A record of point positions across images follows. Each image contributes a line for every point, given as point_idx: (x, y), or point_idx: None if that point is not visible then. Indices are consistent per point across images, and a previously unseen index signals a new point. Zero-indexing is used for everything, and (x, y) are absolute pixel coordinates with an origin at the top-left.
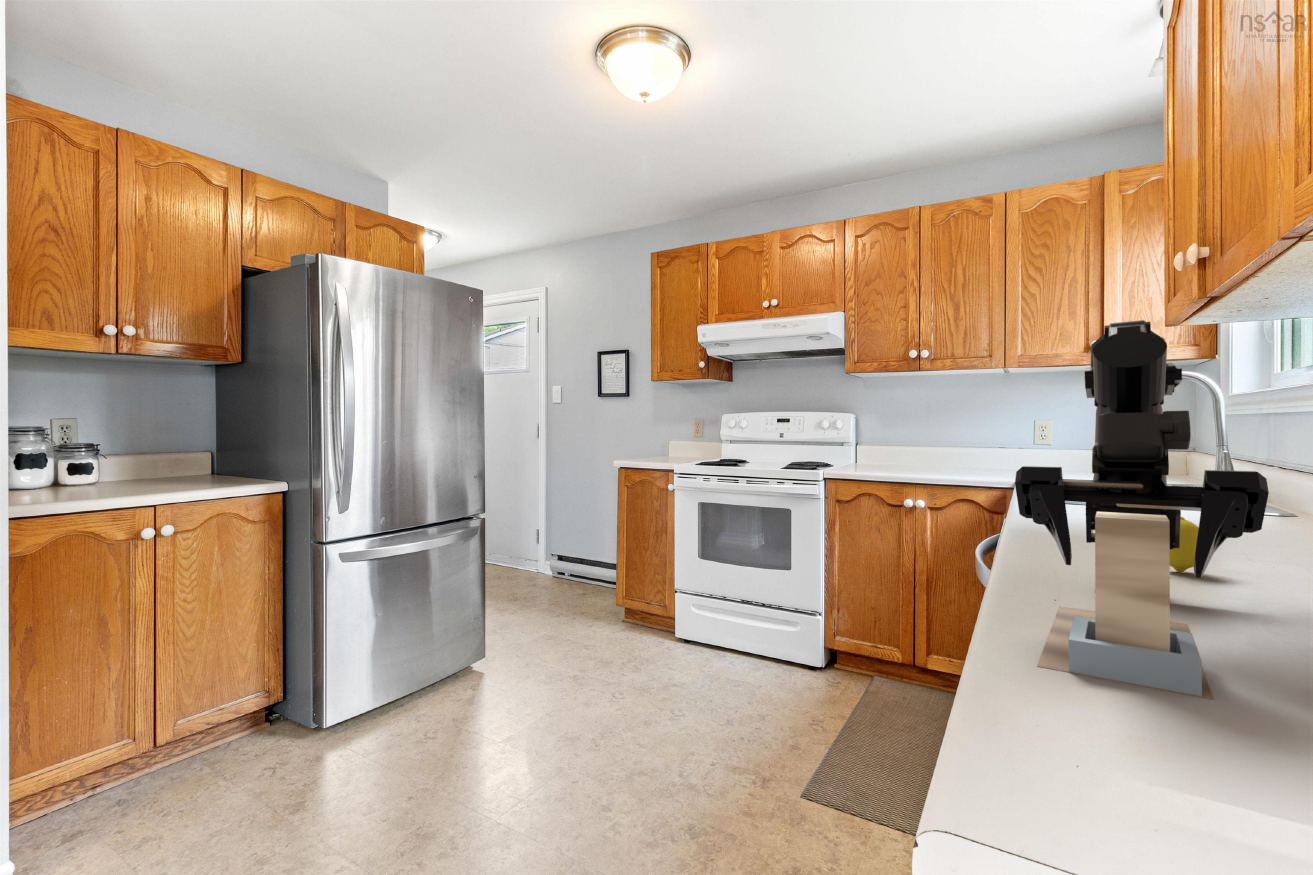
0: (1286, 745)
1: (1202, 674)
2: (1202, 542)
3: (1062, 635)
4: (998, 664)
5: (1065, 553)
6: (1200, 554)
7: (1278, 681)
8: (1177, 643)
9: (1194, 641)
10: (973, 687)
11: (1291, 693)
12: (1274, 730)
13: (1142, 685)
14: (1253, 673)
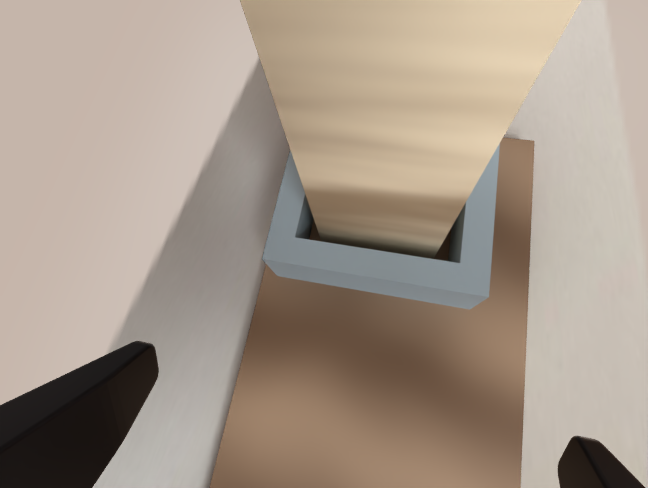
0: (262, 74)
1: None
2: (21, 415)
3: (494, 380)
4: (595, 196)
5: (610, 456)
6: (86, 376)
7: (151, 324)
8: (303, 213)
9: (278, 195)
10: (610, 75)
11: (163, 266)
12: (256, 110)
13: None
14: (170, 355)
